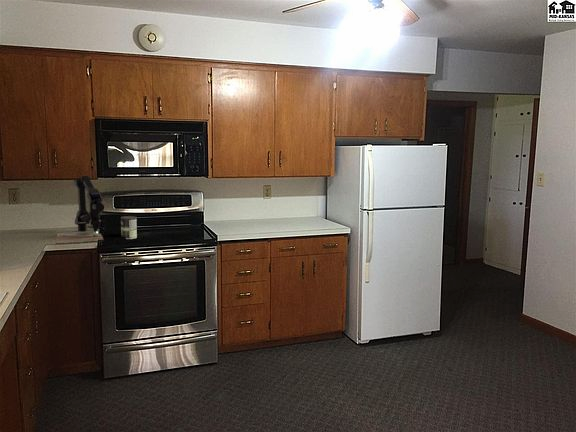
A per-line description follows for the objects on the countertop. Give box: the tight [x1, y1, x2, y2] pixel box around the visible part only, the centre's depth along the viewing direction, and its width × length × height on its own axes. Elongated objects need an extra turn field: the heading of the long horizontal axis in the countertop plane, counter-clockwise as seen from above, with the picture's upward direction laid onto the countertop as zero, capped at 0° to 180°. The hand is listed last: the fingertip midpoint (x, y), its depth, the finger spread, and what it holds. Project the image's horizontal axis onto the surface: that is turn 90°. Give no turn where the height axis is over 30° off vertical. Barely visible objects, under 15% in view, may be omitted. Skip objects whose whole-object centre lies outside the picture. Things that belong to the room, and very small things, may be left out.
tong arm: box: [65, 230, 99, 237], centre depth 328 cm, size 22×3×4 cm, turn 98°
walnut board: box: [55, 233, 104, 245], centre depth 325 cm, size 20×28×2 cm
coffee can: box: [120, 215, 138, 240], centre depth 335 cm, size 10×10×14 cm
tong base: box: [56, 232, 91, 237], centre depth 330 cm, size 5×20×2 cm, turn 115°
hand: (95, 232), depth 331 cm, fingers closed
